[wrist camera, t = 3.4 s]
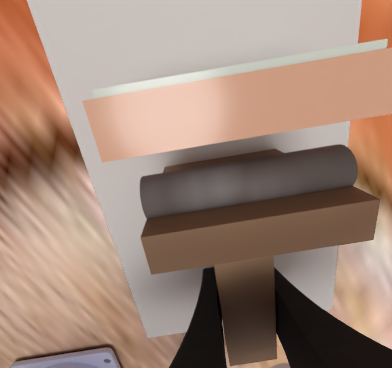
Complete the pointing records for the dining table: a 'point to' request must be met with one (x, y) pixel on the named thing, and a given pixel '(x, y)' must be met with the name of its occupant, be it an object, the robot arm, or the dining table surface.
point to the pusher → (252, 227)
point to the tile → (242, 101)
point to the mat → (155, 163)
